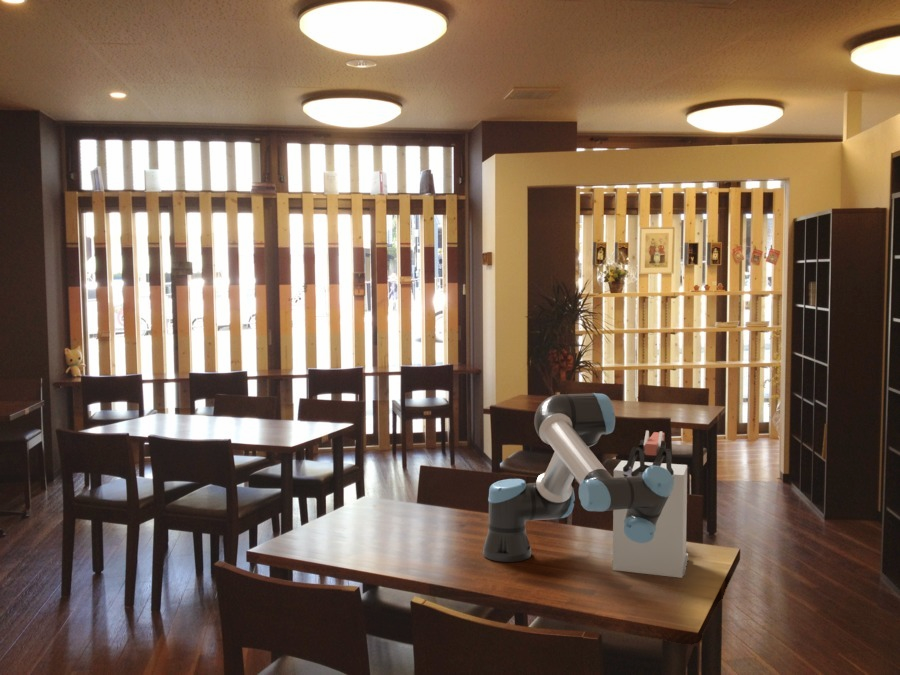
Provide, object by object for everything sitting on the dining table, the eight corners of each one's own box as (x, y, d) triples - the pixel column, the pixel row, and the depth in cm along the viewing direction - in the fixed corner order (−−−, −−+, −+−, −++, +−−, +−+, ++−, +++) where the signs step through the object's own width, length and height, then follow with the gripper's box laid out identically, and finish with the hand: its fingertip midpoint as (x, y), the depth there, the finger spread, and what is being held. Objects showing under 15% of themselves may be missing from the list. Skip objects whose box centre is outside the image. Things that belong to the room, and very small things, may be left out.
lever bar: (656, 455, 217) (656, 444, 216) (644, 454, 218) (645, 443, 217) (664, 442, 237) (664, 432, 237) (653, 442, 238) (654, 432, 238)
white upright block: (684, 578, 232) (685, 475, 231) (610, 569, 239) (611, 470, 238) (688, 559, 249) (689, 463, 248) (619, 552, 256) (620, 459, 255)
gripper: (614, 499, 211) (626, 443, 230) (678, 505, 206) (684, 446, 224) (612, 478, 207) (624, 422, 226) (677, 483, 202) (683, 425, 221)
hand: (654, 434), depth 225 cm, fingers closed on lever bar, 3 cm apart
